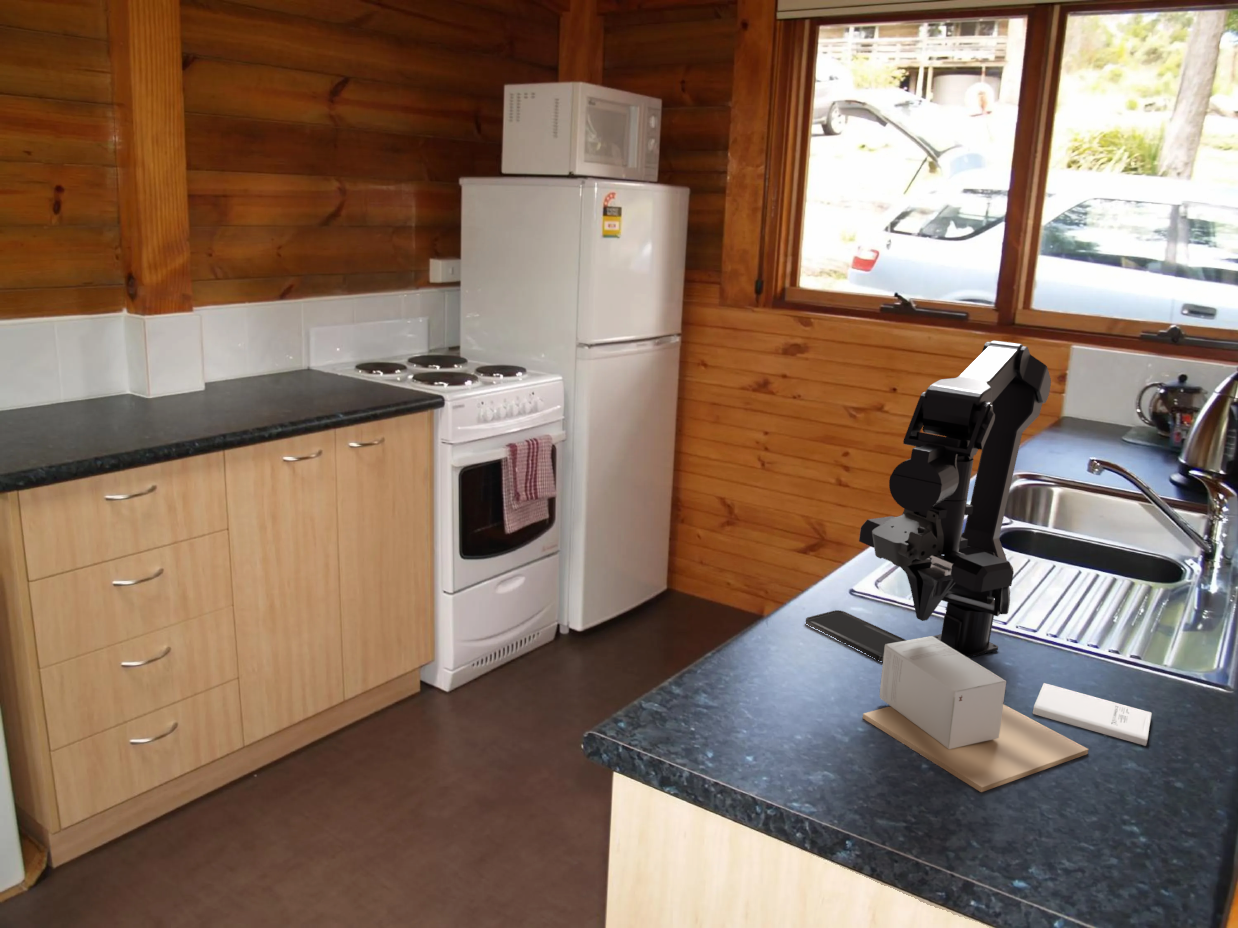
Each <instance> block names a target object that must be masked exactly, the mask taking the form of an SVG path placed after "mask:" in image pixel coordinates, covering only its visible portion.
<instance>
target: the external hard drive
mask: <svg viewBox="0 0 1238 928" xmlns="http://www.w3.org/2000/svg"><path fill="white" fill-rule="evenodd" d="M1032 714H1033V715H1035V716H1040V717H1043V718H1046V719H1051V720H1053V721H1057V722H1061V723H1065V724H1067V725H1070V726H1074V727H1078V728H1082V729H1085V730H1089V731H1093V732H1096V733H1099V734H1103V735H1106V736H1110V737H1114V738H1117V739H1121V740H1124V741H1128V742H1130V743H1134V744H1138V745H1142V746H1145V747H1146V746H1147V743H1148V739H1149V733H1150V732H1149V731H1150V725H1151V721H1152V716H1153V715H1152V714H1153V713H1152V712H1151V711H1147V710H1143V709H1140V708H1136V707H1133V706H1129V705H1125V704H1121V703H1118V702H1114V701H1111V700H1107V699H1103V698H1099V697H1097V696H1096V697H1095V696H1093V695H1091V694H1090V695H1089V694H1085V693H1082V692H1077V691H1076V690H1071V689H1068V688H1065V687H1060V686H1057V685H1053V684H1049V683H1045V682H1043V684H1042V687H1041V688H1040V691H1039V693H1038V696H1037V698H1036V700H1035V703H1034V705H1033V710H1032Z"/></svg>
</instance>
